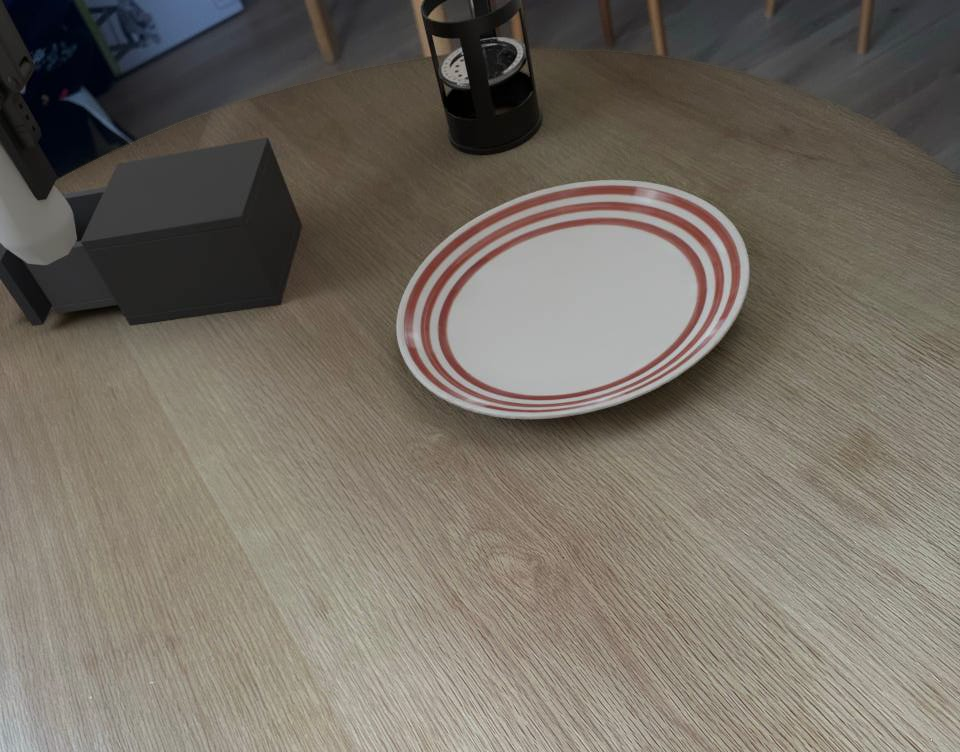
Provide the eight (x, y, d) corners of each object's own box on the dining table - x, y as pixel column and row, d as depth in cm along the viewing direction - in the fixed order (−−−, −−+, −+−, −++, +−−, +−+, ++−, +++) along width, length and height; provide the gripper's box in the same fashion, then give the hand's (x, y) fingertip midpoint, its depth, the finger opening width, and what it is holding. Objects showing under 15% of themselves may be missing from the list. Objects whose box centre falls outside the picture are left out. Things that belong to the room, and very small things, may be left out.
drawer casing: (129, 325, 94) (79, 241, 87) (160, 247, 100) (116, 163, 93) (280, 304, 91) (241, 216, 84) (302, 225, 97) (267, 136, 90)
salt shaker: (58, 276, 75) (-51, 103, 65) (0, 270, 77) (-115, 102, 67) (100, 227, 78) (2, 53, 67) (44, 223, 80) (-60, 53, 69)
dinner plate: (543, 503, 71) (535, 469, 68) (344, 335, 86) (331, 303, 83) (828, 300, 76) (831, 261, 74) (593, 176, 92) (588, 141, 89)
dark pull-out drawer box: (-27, 334, 97) (-73, 272, 91) (10, 265, 102) (-32, 202, 97) (165, 307, 92) (128, 240, 87) (191, 236, 98) (158, 170, 93)
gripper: (-396, -140, 55) (-107, 241, 73) (-118, -211, 51) (110, 208, 70) (-325, -193, 59) (-68, 180, 78) (-63, -262, 55) (139, 146, 74)
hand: (16, 193), depth 74 cm, fingers closed on salt shaker, 4 cm apart
